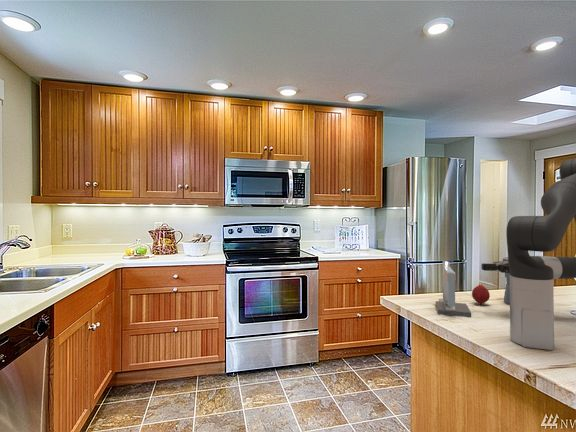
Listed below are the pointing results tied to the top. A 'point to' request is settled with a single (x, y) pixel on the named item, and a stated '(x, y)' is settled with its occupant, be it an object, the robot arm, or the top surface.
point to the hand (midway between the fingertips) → (482, 267)
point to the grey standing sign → (449, 285)
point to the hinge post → (445, 263)
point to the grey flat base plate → (453, 309)
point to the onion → (480, 294)
